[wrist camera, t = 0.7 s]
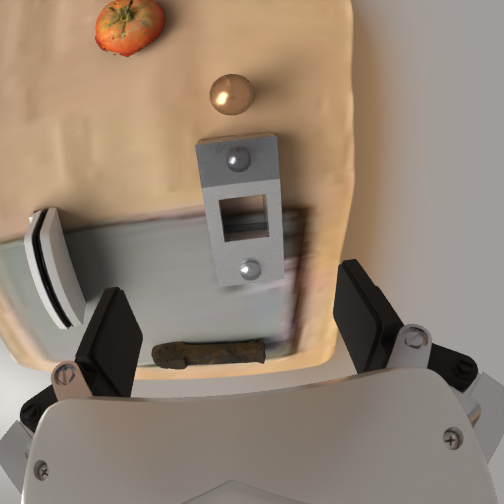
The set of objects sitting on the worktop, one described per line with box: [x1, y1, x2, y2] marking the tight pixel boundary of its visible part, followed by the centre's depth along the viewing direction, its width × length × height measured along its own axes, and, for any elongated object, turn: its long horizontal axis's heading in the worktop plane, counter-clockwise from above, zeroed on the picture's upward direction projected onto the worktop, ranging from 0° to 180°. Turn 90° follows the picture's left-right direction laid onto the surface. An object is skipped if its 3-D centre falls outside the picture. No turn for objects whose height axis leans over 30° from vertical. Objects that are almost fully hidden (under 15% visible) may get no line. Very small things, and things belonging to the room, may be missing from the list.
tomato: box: [95, 0, 165, 57], centre depth 20 cm, size 8×7×7 cm
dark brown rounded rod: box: [152, 339, 266, 370], centre depth 43 cm, size 19×4×5 cm, turn 88°
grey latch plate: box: [195, 132, 284, 287], centre depth 31 cm, size 17×8×5 cm, turn 5°
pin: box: [210, 74, 254, 115], centre depth 24 cm, size 4×4×7 cm
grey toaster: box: [24, 207, 86, 329], centre depth 31 cm, size 17×5×10 cm, turn 179°
